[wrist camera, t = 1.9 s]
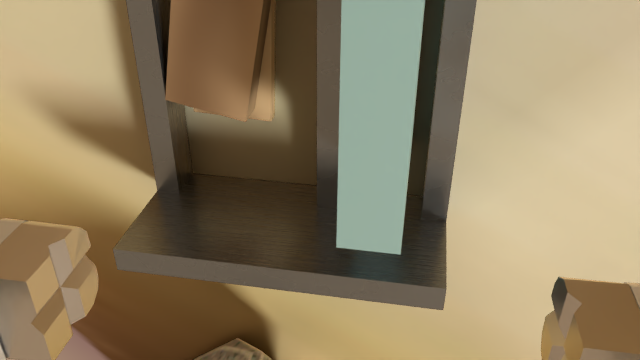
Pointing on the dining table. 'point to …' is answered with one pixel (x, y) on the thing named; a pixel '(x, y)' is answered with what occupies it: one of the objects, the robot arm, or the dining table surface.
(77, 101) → the dining table surface
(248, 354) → the decorative stone tablet
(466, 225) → the dining table surface
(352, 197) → the teal sheet
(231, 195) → the offcut rack
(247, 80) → the offcut walnut
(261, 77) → the offcut oak
